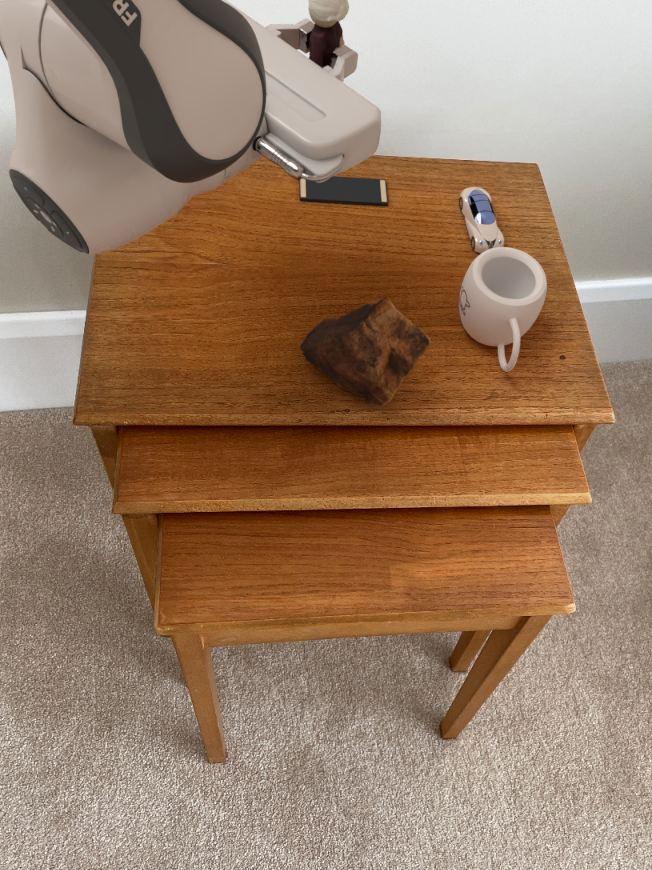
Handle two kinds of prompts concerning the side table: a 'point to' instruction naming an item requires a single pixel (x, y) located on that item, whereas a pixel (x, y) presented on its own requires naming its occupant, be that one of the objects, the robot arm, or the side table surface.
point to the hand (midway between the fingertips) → (332, 43)
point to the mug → (502, 299)
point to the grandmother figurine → (326, 29)
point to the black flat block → (345, 191)
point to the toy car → (480, 219)
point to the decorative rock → (367, 350)
